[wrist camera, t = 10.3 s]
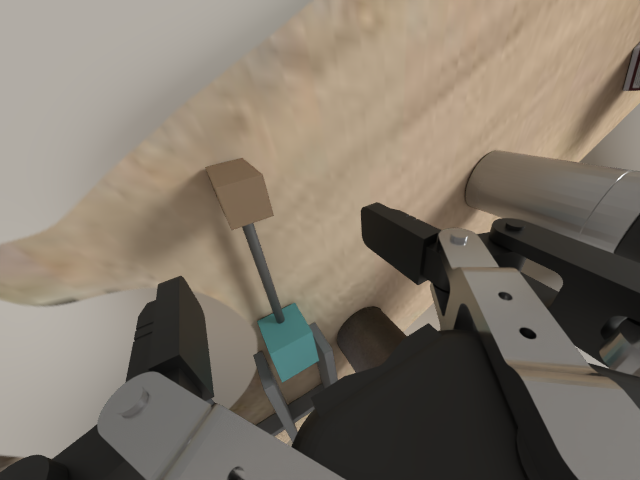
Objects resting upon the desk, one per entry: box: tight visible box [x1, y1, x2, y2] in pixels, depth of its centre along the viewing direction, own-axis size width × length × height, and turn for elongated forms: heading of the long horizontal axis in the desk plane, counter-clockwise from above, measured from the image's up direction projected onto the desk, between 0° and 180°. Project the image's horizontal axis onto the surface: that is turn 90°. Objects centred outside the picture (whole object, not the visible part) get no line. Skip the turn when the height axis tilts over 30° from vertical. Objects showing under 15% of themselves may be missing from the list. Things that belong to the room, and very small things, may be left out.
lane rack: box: [206, 323, 338, 442], centre depth 35 cm, size 17×18×5 cm
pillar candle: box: [337, 307, 407, 373], centre depth 36 cm, size 10×10×15 cm
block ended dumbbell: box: [205, 158, 319, 383], centre depth 24 cm, size 5×24×6 cm, turn 9°
